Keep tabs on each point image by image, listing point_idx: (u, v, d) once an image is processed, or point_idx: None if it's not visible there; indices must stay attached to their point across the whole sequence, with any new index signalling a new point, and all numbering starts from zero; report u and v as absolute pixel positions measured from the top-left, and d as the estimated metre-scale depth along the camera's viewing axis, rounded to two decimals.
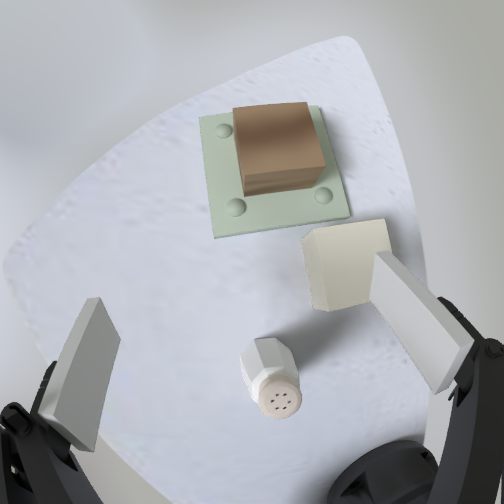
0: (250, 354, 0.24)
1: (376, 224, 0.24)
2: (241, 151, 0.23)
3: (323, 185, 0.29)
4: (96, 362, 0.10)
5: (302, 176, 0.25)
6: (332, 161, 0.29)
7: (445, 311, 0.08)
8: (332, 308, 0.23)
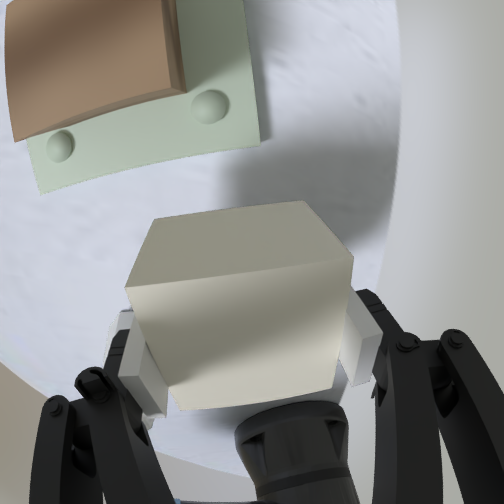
0: (109, 346, 0.18)
1: (323, 273, 0.09)
2: (8, 92, 0.07)
3: (211, 87, 0.13)
4: None
5: (136, 99, 0.10)
6: (240, 37, 0.12)
7: (358, 302, 0.10)
8: (187, 407, 0.11)
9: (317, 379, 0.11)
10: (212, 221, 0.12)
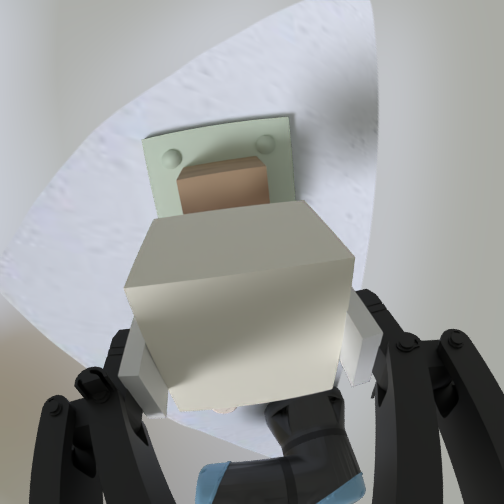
0: None
1: (324, 273, 0.09)
2: None
3: None
4: None
5: None
6: (291, 192, 0.29)
7: (358, 302, 0.10)
8: (186, 408, 0.11)
9: (318, 380, 0.11)
10: (212, 221, 0.12)
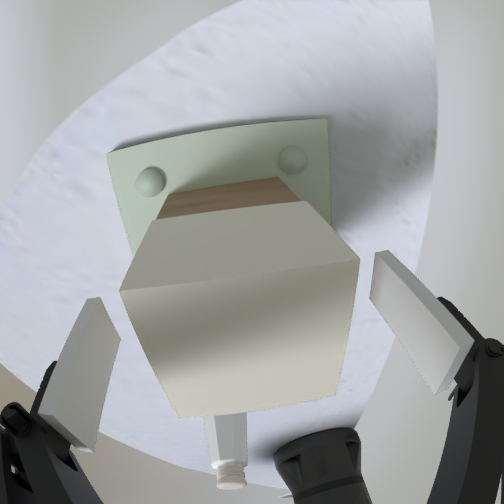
0: None
1: (327, 275, 0.08)
2: None
3: None
4: (96, 362, 0.10)
5: None
6: None
7: (445, 311, 0.08)
8: (185, 414, 0.11)
9: (320, 386, 0.11)
10: (212, 222, 0.11)
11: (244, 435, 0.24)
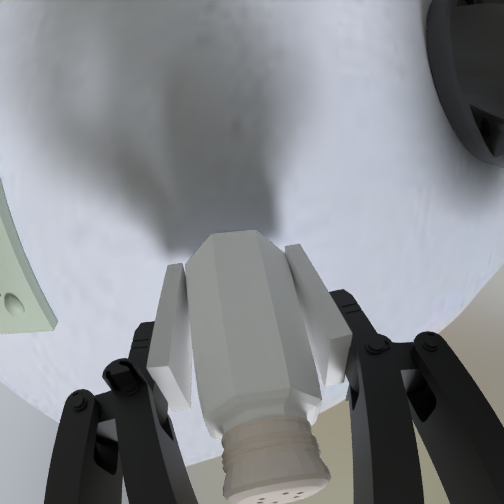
0: None
1: None
2: None
3: None
4: (185, 322, 0.12)
5: None
6: None
7: (330, 302, 0.10)
8: None
9: None
10: None
11: (217, 320, 0.09)
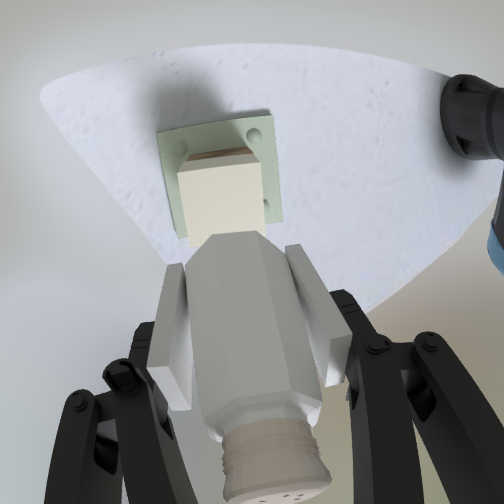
0: None
1: (183, 183, 0.23)
2: None
3: (245, 135, 0.32)
4: (185, 322, 0.12)
5: None
6: (220, 124, 0.31)
7: (330, 302, 0.10)
8: (263, 234, 0.26)
9: (249, 172, 0.24)
10: None
11: (218, 321, 0.09)
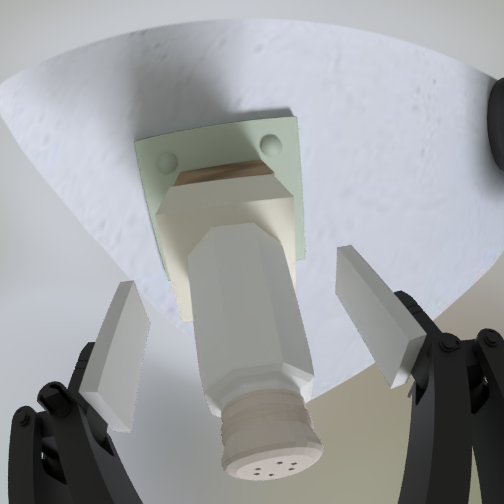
0: None
1: (166, 231, 0.14)
2: None
3: (258, 145, 0.23)
4: (132, 342, 0.11)
5: None
6: (223, 128, 0.22)
7: (399, 304, 0.09)
8: None
9: (274, 213, 0.15)
10: None
11: (217, 303, 0.10)
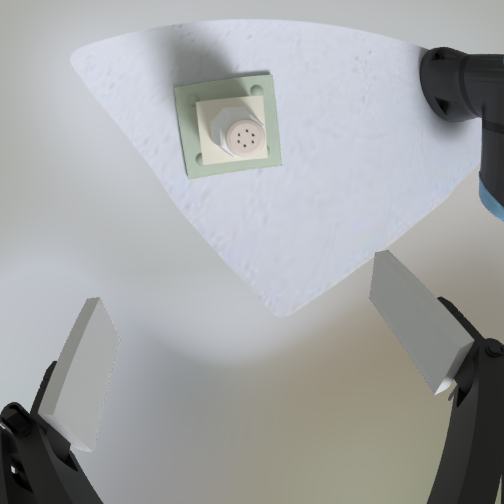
0: None
1: (200, 110, 0.27)
2: None
3: (249, 90, 0.36)
4: (96, 362, 0.10)
5: None
6: (228, 81, 0.35)
7: (445, 311, 0.08)
8: (265, 154, 0.30)
9: (253, 103, 0.27)
10: None
11: (226, 113, 0.23)
